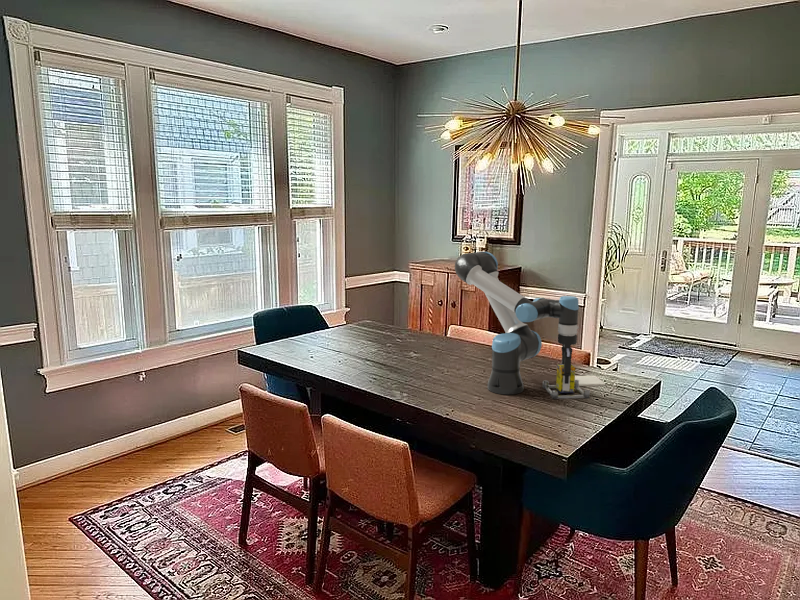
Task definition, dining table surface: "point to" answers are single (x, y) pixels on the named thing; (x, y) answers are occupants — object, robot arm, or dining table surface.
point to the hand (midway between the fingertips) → (565, 387)
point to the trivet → (589, 381)
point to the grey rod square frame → (555, 395)
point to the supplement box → (560, 379)
